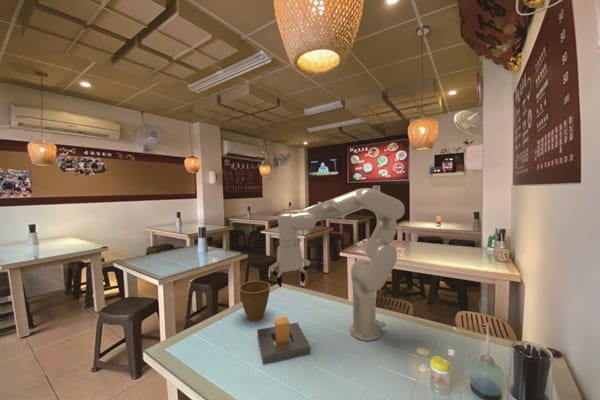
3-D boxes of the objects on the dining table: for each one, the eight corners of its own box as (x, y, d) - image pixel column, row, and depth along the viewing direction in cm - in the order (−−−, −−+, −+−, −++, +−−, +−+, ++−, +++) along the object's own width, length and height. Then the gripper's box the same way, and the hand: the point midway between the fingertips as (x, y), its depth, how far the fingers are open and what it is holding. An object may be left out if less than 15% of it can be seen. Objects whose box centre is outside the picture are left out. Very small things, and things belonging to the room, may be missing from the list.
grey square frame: (297, 328, 112) (297, 322, 112) (310, 353, 95) (310, 346, 95) (257, 336, 107) (257, 329, 107) (263, 364, 90) (263, 356, 89)
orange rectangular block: (287, 340, 104) (286, 316, 104) (290, 347, 99) (289, 322, 99) (275, 342, 103) (274, 318, 102) (277, 349, 98) (277, 324, 97)
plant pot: (234, 324, 117) (233, 291, 116) (248, 309, 131) (247, 279, 131) (264, 327, 114) (263, 293, 113) (274, 312, 128) (274, 281, 127)
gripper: (305, 238, 108) (308, 277, 109) (266, 244, 103) (269, 284, 104) (311, 242, 101) (314, 283, 102) (269, 247, 96) (272, 291, 97)
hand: (291, 283), depth 103 cm, fingers open, 9 cm apart
